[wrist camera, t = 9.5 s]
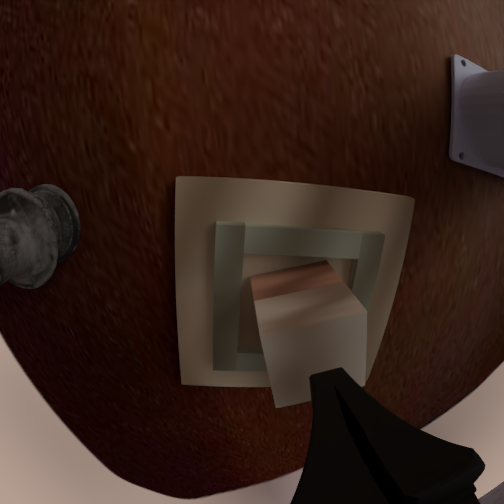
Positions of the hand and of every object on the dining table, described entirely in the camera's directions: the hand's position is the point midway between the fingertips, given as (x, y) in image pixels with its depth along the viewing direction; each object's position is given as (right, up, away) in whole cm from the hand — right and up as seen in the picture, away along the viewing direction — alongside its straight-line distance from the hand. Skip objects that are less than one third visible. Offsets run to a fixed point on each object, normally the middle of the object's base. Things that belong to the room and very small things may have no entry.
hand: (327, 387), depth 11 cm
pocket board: (-1, +3, +8) cm, 8 cm away
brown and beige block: (0, +2, +7) cm, 7 cm away
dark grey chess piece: (-16, +7, +5) cm, 19 cm away
